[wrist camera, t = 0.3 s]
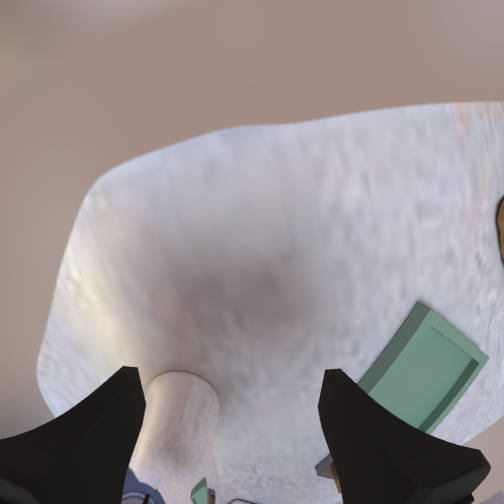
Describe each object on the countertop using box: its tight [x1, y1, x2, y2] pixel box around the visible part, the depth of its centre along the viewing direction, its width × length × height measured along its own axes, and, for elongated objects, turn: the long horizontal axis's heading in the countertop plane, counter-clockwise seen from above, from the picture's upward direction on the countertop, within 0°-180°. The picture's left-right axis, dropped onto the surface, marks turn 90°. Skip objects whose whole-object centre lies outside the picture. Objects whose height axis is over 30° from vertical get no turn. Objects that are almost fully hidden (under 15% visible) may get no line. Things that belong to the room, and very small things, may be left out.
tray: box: [357, 302, 489, 435], centre depth 22 cm, size 11×11×2 cm
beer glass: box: [121, 371, 220, 504], centre depth 15 cm, size 7×7×15 cm
